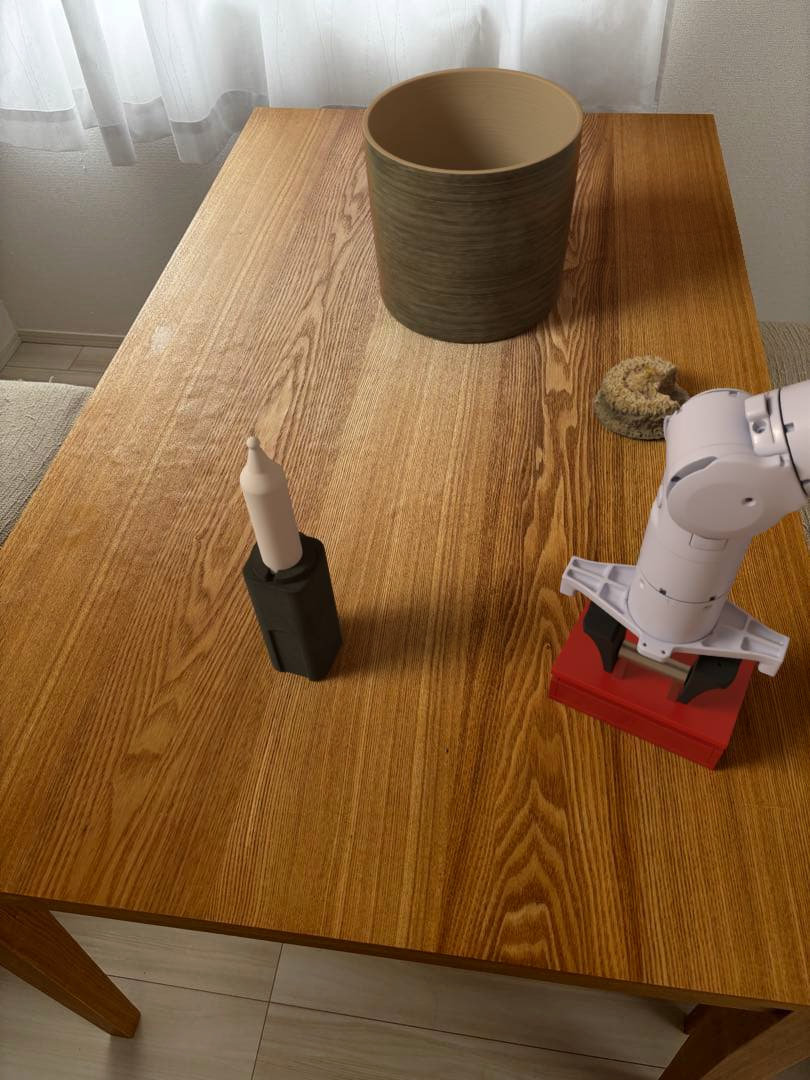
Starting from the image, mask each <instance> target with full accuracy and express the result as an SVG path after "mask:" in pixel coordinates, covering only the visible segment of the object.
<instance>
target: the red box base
mask: <svg viewBox="0 0 810 1080" xmlns="http://www.w3.org/2000/svg"><path fill="white" fill-rule="evenodd" d="M547 698H548V699H550V700H552V701H555V702H557V703H559V704H560V705H563V706H565V707H568V708H570V709H573V710H575V711H577V712H580V713H582V714H583V715H586V716H588V717H591V718H593V719H594V720H598V721H600V722H602V723H604V724H607V725H609V726H611V727H612V728H616V729H618V730H620V731H622V732H624V733H626V734H629V735H631V736H634V737H636V738H638V739H640V740H643V741H645V742H647V743H649V744H651V745H654V746H656V747H659V748H661V749H663V750H665V751H667V752H670V753H672V754H673V755H676V756H679V757H681V758H683V759H685V760H688V761H690V762H692V763H694V764H697V765H699V766H701V767H704V768H705V769H708V770H709V771H714V770H715V768H716V766H717V764H718V763H719V761H720V759H721V757H722V756H723V753H724V750H725V749H723V748H721V747H719V746H716V745H714V744H712V743H709V742H707V741H705V740H703V739H700V738H698V737H696V736H693V735H691V734H689V733H686V732H684V731H682V730H679V729H677V728H675V727H673V726H670V725H668V724H666V723H663V722H661V721H659V720H656V719H654V718H652V717H649V716H647V715H645V714H643V713H640V712H638V711H636V710H633V709H631V708H629V707H626V706H624V705H622V704H619V703H617V702H615V701H613V700H610V699H608V698H606V697H603V696H601V695H599V694H596V693H594V692H592V691H589V690H587V689H585V688H583V687H580V686H578V685H576V684H573V683H571V682H569V681H566V680H564V679H562V678H559V677H557V676H555V675H552V676H551V678H550V683H549V687H548V694H547Z"/></svg>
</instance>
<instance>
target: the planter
mask: <svg viewBox="0 0 810 1080" xmlns="http://www.w3.org/2000/svg"><path fill="white" fill-rule="evenodd" d="M584 121H585V115H584V111H583V108H582V106H581V104H580V102H579V101H578V99H577V98H576V97H575V96H574V95H573V94H572V93H571V92H570V91H568V89H566V88H565V87H563V86H562V85H560V84H558V83H557V82H555V81H552V80H549V79H548V78H545V77H542V76H540V75H536V74H533V73H530V72H529V73H528V72H525V71H521V70H520V71H519V70H514V69H509V68H501V67H500V68H499V67H497V68H496V67H479V66H478V67H459V68H450V69H443V70H437V71H432V72H427V73H424V74H420V75H417V76H414V77H410V78H408V79H405V80H403V81H401V82H398V83H396V84H394V85H392V86H390V87H389V88H387V89H385V90H383V92H381V93H380V94H378V95H377V96H375V98H373V100H371V102H370V103H369V105H368V106H367V107H366V109H365V111H364V113H363V116H362V120H361V130H362V139H363V140H362V142H363V149H364V150H363V152H364V161H365V168H366V169H365V171H366V182H367V189H368V199H369V208H370V209H369V210H370V217H371V225H372V234H373V241H374V250H375V256H376V265H377V266H376V267H377V274H378V283H379V290H380V296H381V300H382V302H383V305H384V306H385V309H386V310H387V312H388V313H389V314H390V315H391V316H392V317H393V319H395V320H396V321H397V322H398V323H399V324H401V325H403V326H404V327H405V328H407V329H409V330H411V331H413V332H414V333H416V334H419V335H421V336H425V337H428V338H430V339H434V340H437V341H438V340H439V341H443V342H449V343H461V344H462V343H463V344H474V343H475V344H477V343H478V344H479V343H488V342H494V341H499V340H503V339H507V338H511V337H513V336H516V335H519V334H522V333H524V332H526V331H528V330H530V329H531V328H533V327H535V326H536V325H539V324H540V323H541V322H542V321H543V320H544V319H546V318H547V316H549V315H550V313H551V312H552V311H553V310H554V308H555V306H557V304H558V301H559V299H560V296H561V291H562V287H563V280H564V279H563V278H564V273H565V265H566V264H565V263H566V257H567V250H568V244H569V239H570V238H569V237H570V231H571V224H572V216H573V211H574V203H575V194H576V188H577V180H578V172H579V165H580V156H581V148H582V139H583V131H584V123H585V122H584Z"/></svg>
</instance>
